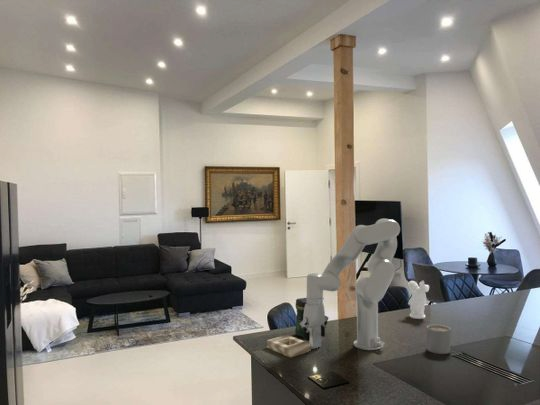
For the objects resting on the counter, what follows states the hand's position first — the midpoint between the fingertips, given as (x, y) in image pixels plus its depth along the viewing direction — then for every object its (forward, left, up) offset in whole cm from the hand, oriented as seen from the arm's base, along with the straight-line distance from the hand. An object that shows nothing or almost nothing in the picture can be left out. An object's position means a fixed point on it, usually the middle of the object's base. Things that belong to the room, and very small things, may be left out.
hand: (314, 338), depth 195 cm
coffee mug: (-38, -42, -5) cm, 57 cm away
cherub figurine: (-3, -82, -5) cm, 83 cm away
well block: (+6, +11, -4) cm, 13 cm away
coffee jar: (+16, -9, -5) cm, 19 cm away
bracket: (+1, 0, -4) cm, 5 cm away
